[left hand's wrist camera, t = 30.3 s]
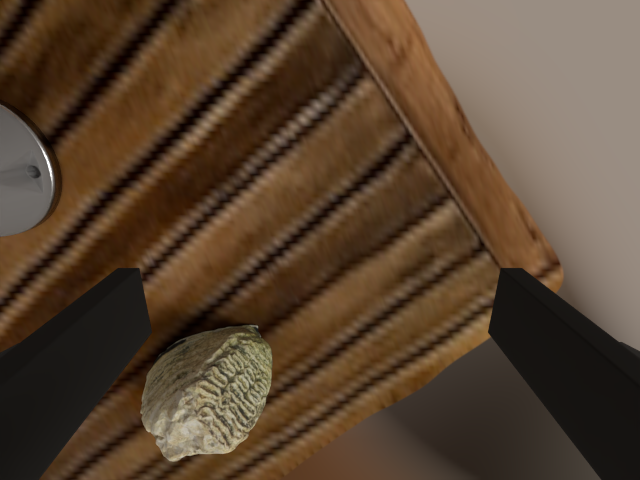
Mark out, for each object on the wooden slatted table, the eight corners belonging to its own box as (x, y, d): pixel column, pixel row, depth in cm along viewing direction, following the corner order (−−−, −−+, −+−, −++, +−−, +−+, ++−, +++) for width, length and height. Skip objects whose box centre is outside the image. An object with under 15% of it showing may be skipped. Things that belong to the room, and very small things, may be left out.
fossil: (289, 342, 46) (276, 443, 32) (185, 402, 50) (132, 515, 36) (248, 294, 44) (215, 379, 30) (142, 360, 47) (67, 465, 33)
